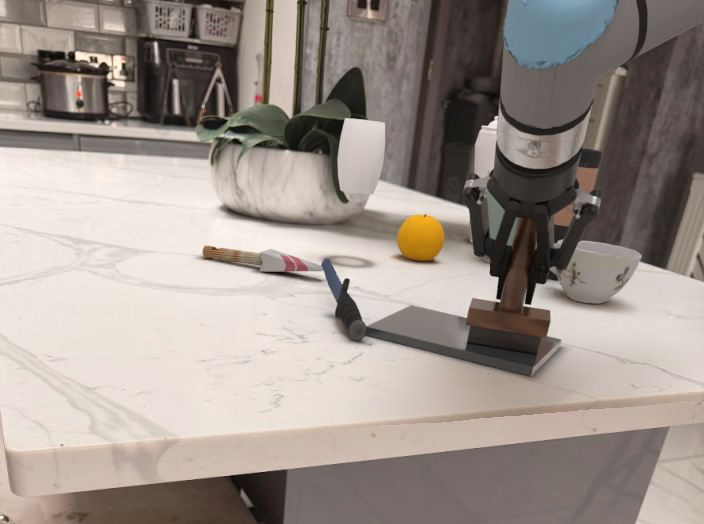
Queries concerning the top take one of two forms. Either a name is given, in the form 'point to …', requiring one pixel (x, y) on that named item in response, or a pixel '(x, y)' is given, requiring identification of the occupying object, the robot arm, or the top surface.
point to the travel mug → (586, 183)
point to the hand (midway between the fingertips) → (516, 291)
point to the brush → (512, 302)
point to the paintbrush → (262, 259)
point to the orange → (420, 237)
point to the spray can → (485, 152)
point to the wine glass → (360, 158)
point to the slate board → (456, 339)
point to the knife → (344, 302)
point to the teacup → (596, 271)
